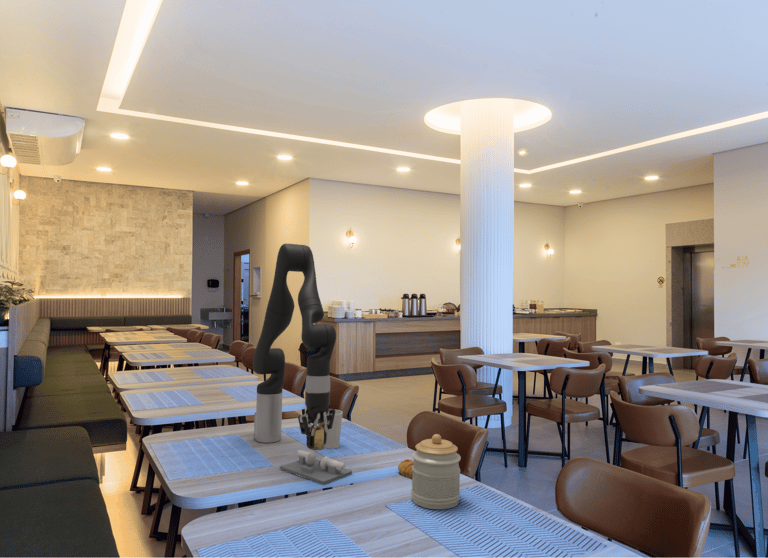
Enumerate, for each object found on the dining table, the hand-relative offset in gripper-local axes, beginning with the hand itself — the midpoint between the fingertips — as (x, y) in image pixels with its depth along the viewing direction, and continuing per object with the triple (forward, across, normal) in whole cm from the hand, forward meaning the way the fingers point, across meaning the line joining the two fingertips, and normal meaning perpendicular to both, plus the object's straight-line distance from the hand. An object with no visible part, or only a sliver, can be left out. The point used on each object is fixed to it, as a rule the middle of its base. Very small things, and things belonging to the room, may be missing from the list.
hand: (316, 445), depth 163 cm
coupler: (+1, 0, 0) cm, 1 cm away
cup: (+8, -22, -16) cm, 28 cm away
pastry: (+8, -19, +23) cm, 30 cm away
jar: (+8, -6, +39) cm, 41 cm away
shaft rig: (+8, 0, 0) cm, 8 cm away
